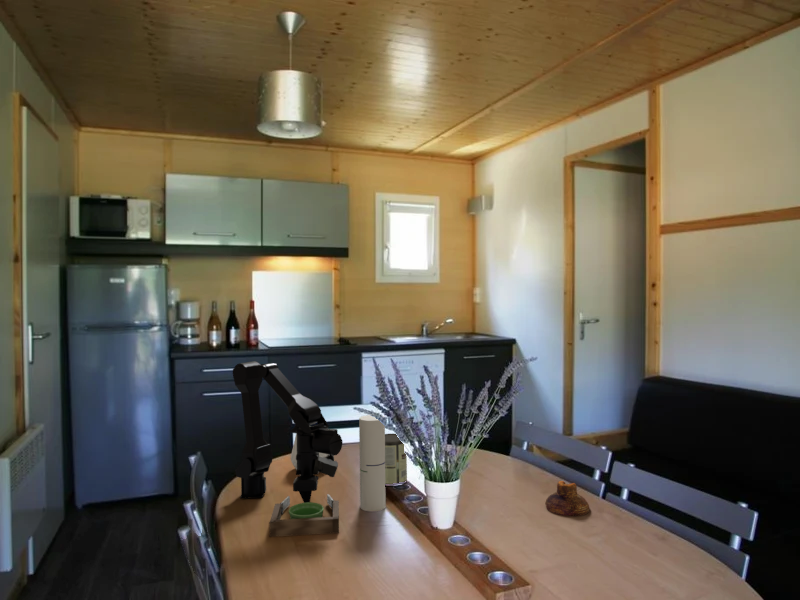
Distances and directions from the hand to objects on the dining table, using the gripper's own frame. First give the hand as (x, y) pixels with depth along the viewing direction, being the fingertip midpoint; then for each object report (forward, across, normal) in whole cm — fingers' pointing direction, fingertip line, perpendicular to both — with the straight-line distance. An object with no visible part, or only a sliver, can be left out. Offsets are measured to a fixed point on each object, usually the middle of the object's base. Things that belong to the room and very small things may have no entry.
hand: (307, 505), depth 155 cm
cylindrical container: (+1, -1, -18) cm, 18 cm away
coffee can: (+1, +19, -25) cm, 32 cm away
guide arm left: (+1, -1, +6) cm, 6 cm away
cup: (+1, +35, +1) cm, 35 cm away
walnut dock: (+1, -10, 0) cm, 10 cm away
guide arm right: (+1, -1, -7) cm, 7 cm away
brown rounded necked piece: (+1, -9, -72) cm, 72 cm away
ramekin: (+1, -11, 0) cm, 11 cm away
